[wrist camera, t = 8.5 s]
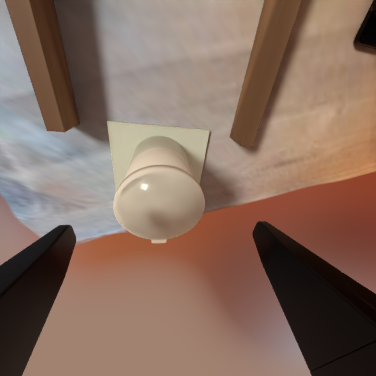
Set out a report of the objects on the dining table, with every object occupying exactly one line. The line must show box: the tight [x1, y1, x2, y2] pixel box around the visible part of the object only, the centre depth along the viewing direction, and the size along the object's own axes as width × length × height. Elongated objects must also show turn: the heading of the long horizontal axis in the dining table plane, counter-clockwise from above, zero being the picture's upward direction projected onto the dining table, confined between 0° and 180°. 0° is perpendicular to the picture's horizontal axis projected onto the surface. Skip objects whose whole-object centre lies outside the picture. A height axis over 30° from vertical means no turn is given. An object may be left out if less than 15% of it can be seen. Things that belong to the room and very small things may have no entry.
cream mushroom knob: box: [113, 136, 205, 243], centre depth 16 cm, size 9×6×8 cm
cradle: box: [5, 0, 302, 147], centre depth 12 cm, size 17×15×3 cm
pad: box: [107, 121, 210, 192], centre depth 19 cm, size 10×9×1 cm
